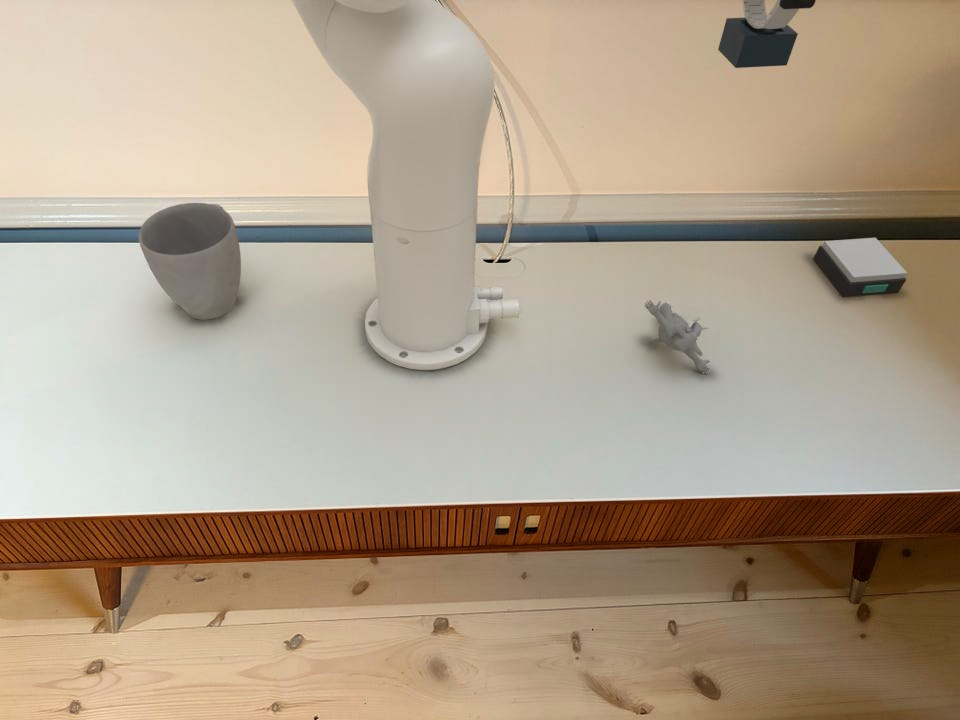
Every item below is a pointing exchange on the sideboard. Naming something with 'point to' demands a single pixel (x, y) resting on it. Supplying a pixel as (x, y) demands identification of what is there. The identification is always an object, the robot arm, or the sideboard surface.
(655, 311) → the grey creature figurine
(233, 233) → the mug
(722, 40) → the watch
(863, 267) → the scale
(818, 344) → the sideboard surface
